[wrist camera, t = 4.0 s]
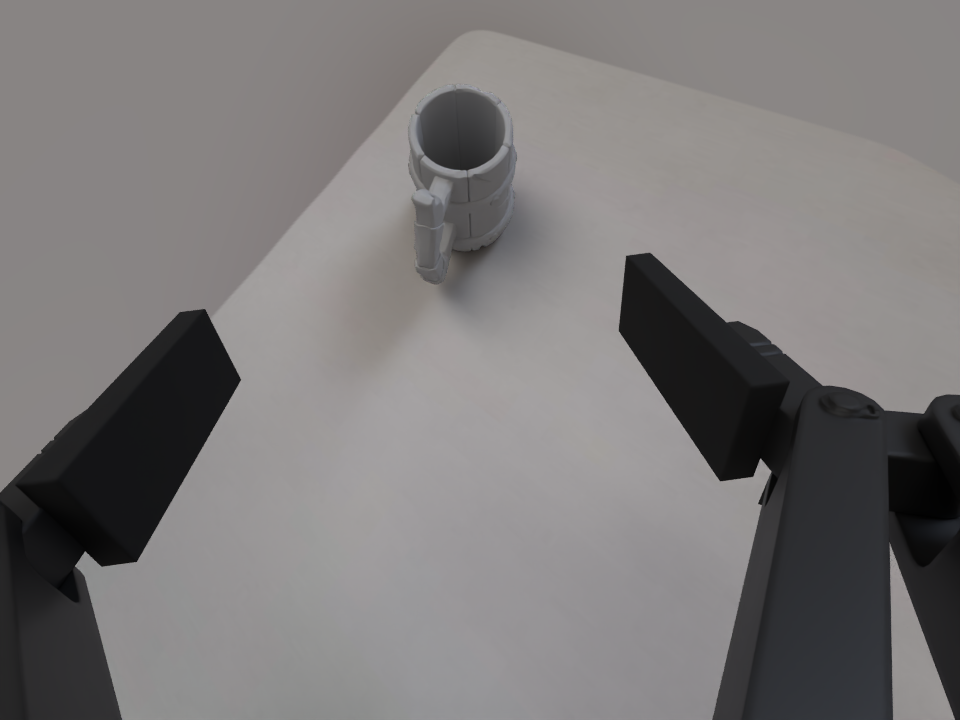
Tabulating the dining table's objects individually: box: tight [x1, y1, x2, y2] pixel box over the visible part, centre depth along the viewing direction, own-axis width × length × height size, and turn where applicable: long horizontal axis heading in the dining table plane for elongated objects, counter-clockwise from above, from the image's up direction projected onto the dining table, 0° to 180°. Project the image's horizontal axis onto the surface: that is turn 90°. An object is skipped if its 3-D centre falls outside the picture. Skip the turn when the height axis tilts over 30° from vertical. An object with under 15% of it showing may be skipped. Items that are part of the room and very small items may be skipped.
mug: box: [408, 84, 517, 284], centre depth 30 cm, size 8×12×12 cm, turn 161°
